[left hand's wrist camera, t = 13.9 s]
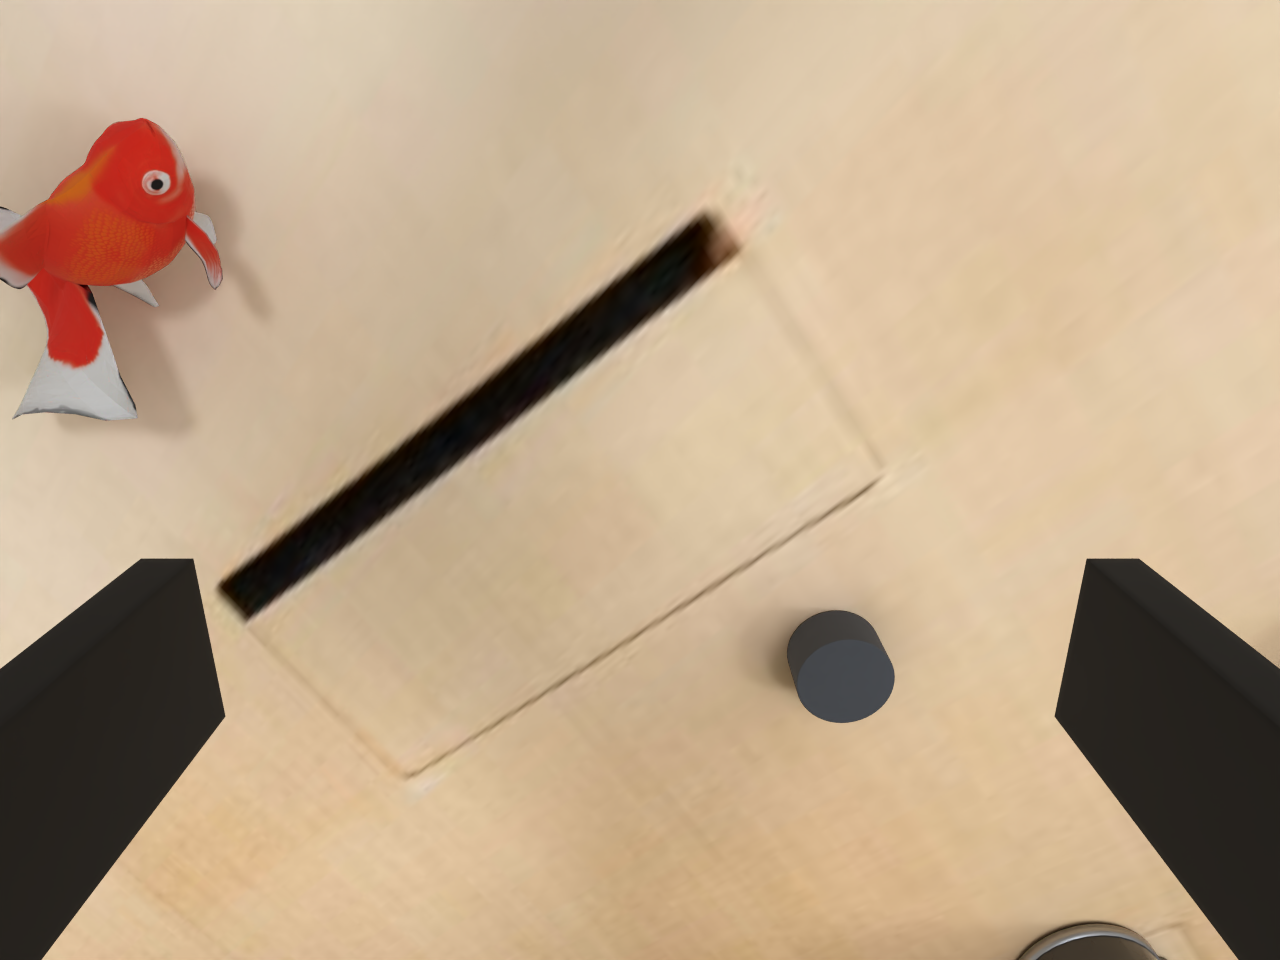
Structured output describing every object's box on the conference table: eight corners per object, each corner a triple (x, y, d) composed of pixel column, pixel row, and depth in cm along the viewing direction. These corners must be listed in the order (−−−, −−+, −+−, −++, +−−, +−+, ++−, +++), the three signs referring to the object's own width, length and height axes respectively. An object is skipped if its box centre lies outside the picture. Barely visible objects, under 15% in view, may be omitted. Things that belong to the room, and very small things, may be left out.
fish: (343, 324, 35) (86, 345, 27) (174, 448, 44) (-59, 492, 36) (245, 83, 35) (-43, 29, 27) (96, 256, 44) (-155, 256, 35)
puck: (789, 610, 45) (799, 639, 42) (883, 610, 45) (900, 639, 42) (784, 690, 47) (793, 723, 44) (874, 689, 47) (889, 723, 44)
